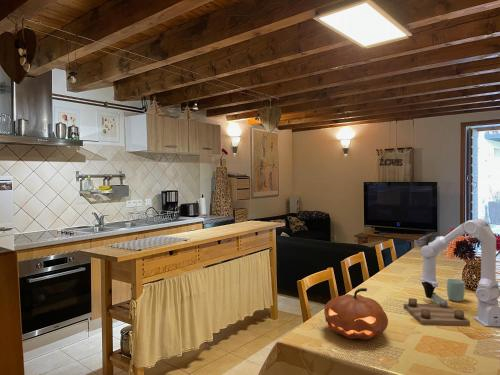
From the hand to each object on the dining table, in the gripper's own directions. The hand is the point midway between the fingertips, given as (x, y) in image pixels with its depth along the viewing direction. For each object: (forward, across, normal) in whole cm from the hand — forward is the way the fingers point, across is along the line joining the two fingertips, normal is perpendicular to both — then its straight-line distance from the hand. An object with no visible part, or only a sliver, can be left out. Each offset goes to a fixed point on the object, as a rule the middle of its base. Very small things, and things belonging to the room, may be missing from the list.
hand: (428, 297), depth 178 cm
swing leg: (+1, +4, +3) cm, 5 cm away
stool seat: (+3, +16, -4) cm, 16 cm away
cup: (+4, -6, +16) cm, 18 cm away
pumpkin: (+4, +36, -44) cm, 57 cm away
